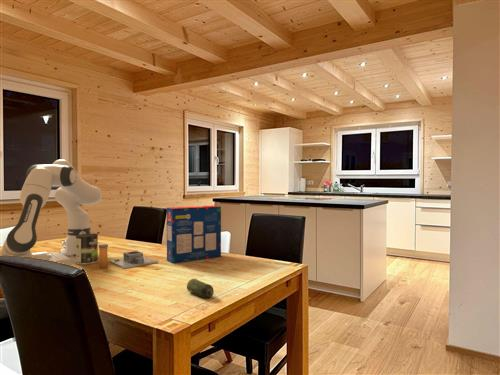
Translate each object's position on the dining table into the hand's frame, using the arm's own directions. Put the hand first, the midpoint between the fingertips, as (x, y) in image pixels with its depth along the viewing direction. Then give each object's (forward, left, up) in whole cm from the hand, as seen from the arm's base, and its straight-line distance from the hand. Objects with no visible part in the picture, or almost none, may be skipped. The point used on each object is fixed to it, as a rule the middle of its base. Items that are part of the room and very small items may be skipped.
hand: (76, 257), depth 158 cm
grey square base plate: (0, +27, -7) cm, 28 cm away
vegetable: (+65, +24, -7) cm, 69 cm away
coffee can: (-17, +10, -7) cm, 21 cm away
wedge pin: (0, +12, -7) cm, 14 cm away
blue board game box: (+14, +55, -7) cm, 57 cm away
